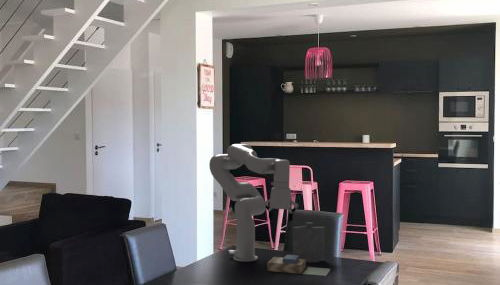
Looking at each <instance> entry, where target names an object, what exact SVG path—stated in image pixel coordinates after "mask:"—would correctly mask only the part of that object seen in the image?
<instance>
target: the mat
mask: <svg viewBox="0 0 500 285" xmlns="http://www.w3.org/2000/svg"><path fill="white" fill-rule="evenodd" d="M330 271H331V268H325V267H314V266H313V267H312V266H307V267H306V268H305V269H304V270H303V271H302V273H301V275H308V276H318V277H327V276H328V274H329V273H330Z"/></svg>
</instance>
